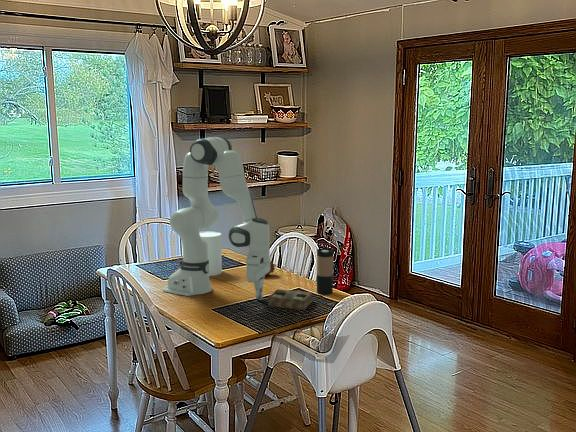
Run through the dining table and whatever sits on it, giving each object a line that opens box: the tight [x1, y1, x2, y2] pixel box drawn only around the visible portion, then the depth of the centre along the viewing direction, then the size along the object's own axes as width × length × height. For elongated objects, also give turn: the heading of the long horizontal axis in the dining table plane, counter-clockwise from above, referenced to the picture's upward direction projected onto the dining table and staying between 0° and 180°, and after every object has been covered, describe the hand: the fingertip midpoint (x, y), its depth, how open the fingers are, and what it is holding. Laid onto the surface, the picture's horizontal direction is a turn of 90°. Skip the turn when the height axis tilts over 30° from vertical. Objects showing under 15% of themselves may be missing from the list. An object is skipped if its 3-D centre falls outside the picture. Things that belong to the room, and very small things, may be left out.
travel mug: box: [316, 247, 335, 296], centre depth 275 cm, size 8×8×20 cm
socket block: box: [267, 288, 313, 311], centre depth 260 cm, size 16×12×4 cm
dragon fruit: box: [264, 261, 276, 278], centre depth 304 cm, size 8×8×12 cm
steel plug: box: [254, 277, 264, 300], centre depth 264 cm, size 3×3×10 cm
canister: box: [199, 231, 223, 277], centre depth 308 cm, size 14×14×20 cm
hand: (259, 286), depth 264 cm, fingers closed on steel plug, 3 cm apart
